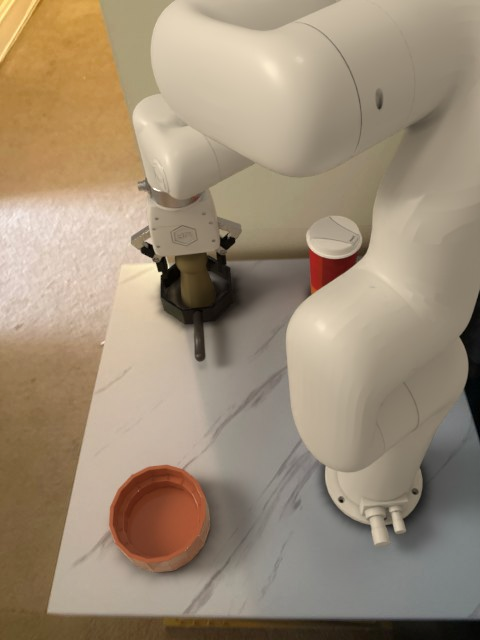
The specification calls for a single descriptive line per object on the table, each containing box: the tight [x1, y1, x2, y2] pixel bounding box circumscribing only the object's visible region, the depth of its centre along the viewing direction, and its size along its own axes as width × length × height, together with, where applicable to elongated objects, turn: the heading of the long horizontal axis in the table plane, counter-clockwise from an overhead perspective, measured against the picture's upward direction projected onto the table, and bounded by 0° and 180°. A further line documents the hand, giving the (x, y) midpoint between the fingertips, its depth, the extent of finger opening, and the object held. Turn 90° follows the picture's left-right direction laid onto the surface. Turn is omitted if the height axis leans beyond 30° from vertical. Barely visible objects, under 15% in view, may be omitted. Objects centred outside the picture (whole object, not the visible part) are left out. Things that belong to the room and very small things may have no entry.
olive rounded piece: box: [174, 252, 217, 309], centre depth 93 cm, size 6×6×11 cm
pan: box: [159, 254, 235, 363], centre depth 93 cm, size 21×12×4 cm, turn 5°
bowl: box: [108, 464, 211, 574], centre depth 72 cm, size 12×12×5 cm
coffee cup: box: [305, 215, 363, 296], centre depth 89 cm, size 8×8×15 cm
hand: (193, 269), depth 92 cm, fingers open, 8 cm apart
